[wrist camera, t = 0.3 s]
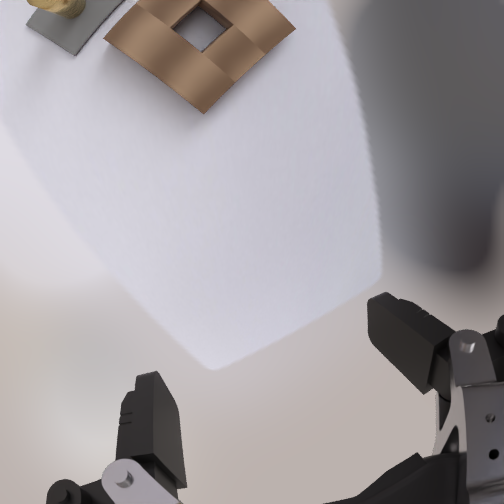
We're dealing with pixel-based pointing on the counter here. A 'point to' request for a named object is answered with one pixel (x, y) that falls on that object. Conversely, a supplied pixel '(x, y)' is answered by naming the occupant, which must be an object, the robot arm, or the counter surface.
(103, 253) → the counter surface
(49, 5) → the brass pin
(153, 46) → the walnut block
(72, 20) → the rubber mat
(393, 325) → the robot arm
